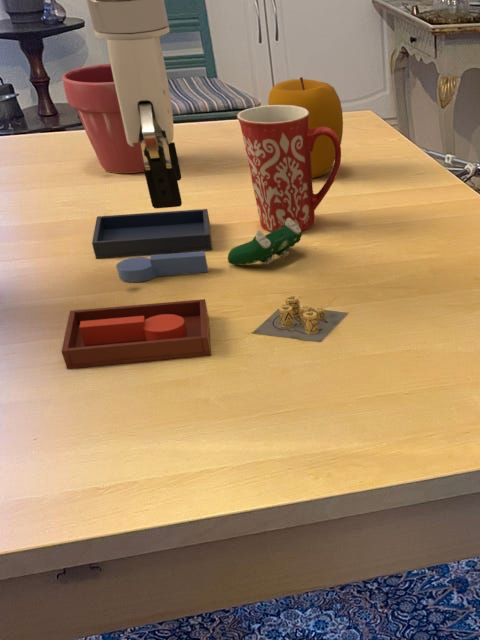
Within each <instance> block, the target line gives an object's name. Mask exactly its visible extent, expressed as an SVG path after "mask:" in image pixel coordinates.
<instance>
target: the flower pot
mask: <svg viewBox="0 0 480 640" xmlns="http://www.w3.org/2000/svg"><path fill="white" fill-rule="evenodd" d="M61 80H62V85H63V89H64V93H65V97H66V100H67V103H68V105H69V107H72V108H73V109H75V110H76V113H77V114H78V117H79V120H80V122H81V124H82V126H83V129H84V130H85V133H86V135H87V137H88V140H89V142H90V144H91V146H92V148H93V151H94V153H95V154H96V157H97V159H98V161H99V164H100V165H101V168H102V169H103V170H104V171H106V172H108V173H115V174H137V173H144V169H145V166H144V160H143V155H142V149H141V143H140V137H139V140H138V143H135V146H134V147H132V146H130V145H129V144H128V143H127V139H126V134H125V129H124V124H123V120H122V115H121V111H120V106H119V101H118V97H117V92H116V88H115V83H114V79H113V74H112V69H111V64H110V63H103V64H95V65H89V66H84V67H79V68H75V69H71V70H69V71H66V72H64V73H63V74H62V76H61Z"/></svg>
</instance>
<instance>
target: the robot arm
mask: <svg viewBox="0 0 480 640" xmlns="http://www.w3.org/2000/svg"><path fill="white" fill-rule="evenodd" d="M86 3H87V7H88V12H89V15H90V20H91V24H92V28H93V32H94V36H95V37H96V38H98V39H101V40H106V44H107V45H106V46H107V51H108V58H109V64H111V69H112V74H113V79H114V83H115V88H116V92H117V97H118V101H119V106H120V111H121V115H122V120H123V124H124V129H125V134H126V139H127V143H128V144H129V145H130V146H132V147H134V146H135V143H138V140H139V137H140V143H141V149H142V155H143V160H144V166H145V169H144V172H143V173H144V177H145V181H146V185H147V189H148V193H149V198H150V202H151V205H152V207H153V209H165V208H166V209H168V208H179V207H181V206H182V204H183V202H182V196H181V191H180V186H179V182H178V181H181V179H182V172H181V168H180V162H179V158H178V153H177V148H176V143H175V141H174V129H175V128H174V113H173V107H172V106H173V105H172V98H171V92H170V85H169V80H168V75H167V68H166V63H165V59H164V54H163V49H162V44H161V39H160V37H162V36H165V35H167V34H169V33H170V32H171V31H170V30H171V29H170V26H169V19H168V14H167V9H166V4H165V0H86Z"/></svg>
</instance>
